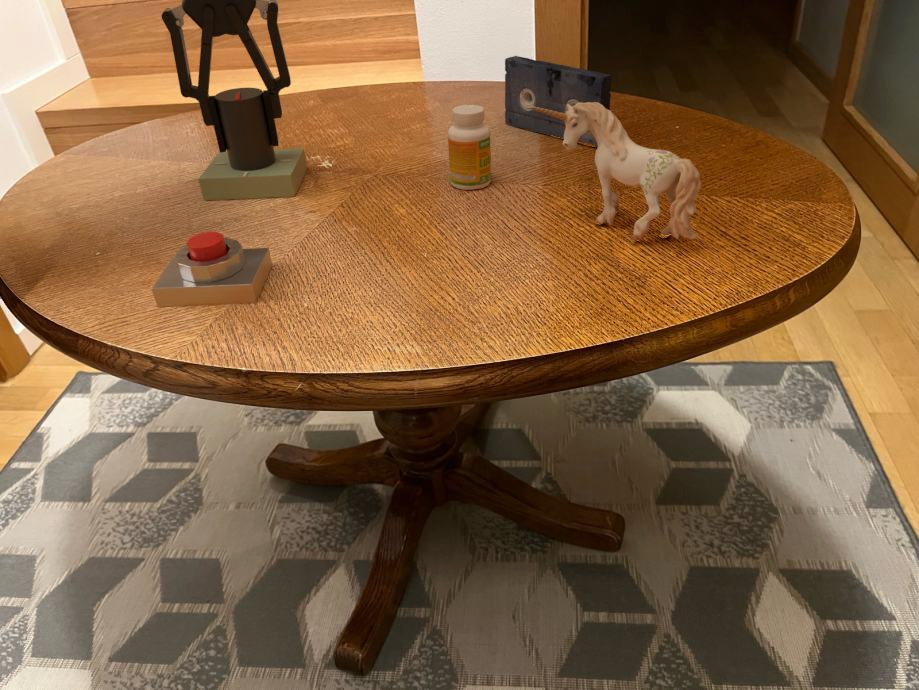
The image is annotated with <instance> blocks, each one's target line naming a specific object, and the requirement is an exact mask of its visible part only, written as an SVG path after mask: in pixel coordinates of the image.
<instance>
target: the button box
mask: <svg viewBox="0 0 919 690" xmlns="http://www.w3.org/2000/svg"><path fill="white" fill-rule="evenodd" d="M224 240H225V244H226V248H227V254H225V255H224V256H222V257H220V258H218V259H214V260H210V261H193V260H192V259H191V257H190V253H189V250H188V246H187V244H186V245H184V246H182V247H181V248H179V249H178V250H177V251H176V252H175V254H174V255H173V256H172V258H171V259H170V261H169V262H168V264H167V265H166V266H165V268H164V269H163V271H162V273H161V274H160V275H159V276H158V279H157V280H156V281H155V283H154V284H153V286H152V288H151V291H152V295H153V297H154V300H155V303H156V307H157V308H166V307H167V308H168V307H169V308H170V307H171V308H172V307H192V306H193V307H195V306H214V305H215V306H219V305H239V304H244V305H245V304H257V303H258V300H259V298H260V295H261V293H262V292H263V291H262V290H263V288H264V286H265V283H266V282H267V279H268V277H269V274H270V272H271V269H272V267H273V261H272V256H271V251H270V248H269V247H255V248H254V247H253V248H243V246H242V245H241V243H240V242H239V241H238V239H233V238H230V237H226V236H224Z"/></svg>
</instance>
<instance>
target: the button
mask: <svg viewBox="0 0 919 690" xmlns="http://www.w3.org/2000/svg"><path fill="white" fill-rule="evenodd" d="M224 237H225V236H224V235H223V234H222V233H221V232H217V231H205V232H200V233H197V234H194V235H192V236H190V237H189V238H188V239H187V241H186V245H187V246H188V250H189V253H190V257H191V259H192V260H193V261H210V260H214V259H218V258H220V257H222V256H224V255H225V254H227V248H226V244H225V240H224Z"/></svg>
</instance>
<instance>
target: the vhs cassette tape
mask: <svg viewBox="0 0 919 690" xmlns="http://www.w3.org/2000/svg"><path fill="white" fill-rule="evenodd" d="M504 71H505V73H504V108H505V111H504V123H505V125H507V124H508V125H507V126H510V125H512V126H511V127H515V126H516V127H515V128H518V127H520V128H519V129H521V128H524V129H523V130H525V129H528V130H527V131H529V130H532V131H536V132H539V133H538V134H540V133H543V134H548V135H553V136H556V137H560V138H564V132H565V129H566V125H565V121H563V120H560V119H558V118H555V117H553V116H549V115H547V114H544V113H541V112H538V111H536V110H533V109H532V108H531V107H532V106H535V107H539V108H543V109H548V110H552V111H556V112H559V113H564V114H565V113H566V112H567V111H569V110H568V107H567V104H569V105H570V106H575V105H576V104H577V103H581V102H582V103H587V102H590V103H593V102H597V103H600V104H601V105H603V106H604V107H605V108H606V109H608V110H610V111H611V109H610V108H611V98H612V97H611V96H612V94H611V91H612V83H613V74H609V73H602V72H599V71H594V70H590V69H589V70H588V69H585V68H578V67H574V66H569V65H566V64H565V65H564V64H559V63H553V62H550V61H544V60H538V59H537V60H535V59H532V58H529V57H524V56H519V55H514V56H509V57H507V58H505V59H504ZM532 131H531V132H532ZM536 132H535V133H536ZM543 134H542V135H543ZM548 135H547V136H548ZM578 142H582V143H587V144H592V145H595V146H598V145H597V141H596V139H595V137H594V136H593V134H592V133H591V132H590V131H589V130H588V131H587V132H586V133H585V134H583V135H581V137H580V138H579V139H578Z"/></svg>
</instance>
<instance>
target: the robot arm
mask: <svg viewBox="0 0 919 690" xmlns="http://www.w3.org/2000/svg"><path fill="white" fill-rule="evenodd" d="M255 9H257V10H258V11H259V15H260V17H261V18H262V19H263V20H265V21H266V24H267V25H266V26H267V31H268V35H269V39H270V44H271V47H272V52H273V56H274V59H275V64H276V68H277V72H278V76H276V77H274V74H273V73H272V71H271V69H270V66H269V65H268V63H267V61H266V59H265V57H264V55H263V53H262V51H261V49H260V47H259V45H258V43H257V41H256V39H255V37H254V36H253V32H252V30H251V29H250V27H249V25H248V24H249V21H250V19H251V17H252V15H253V13H254V10H255ZM185 15H187V16H188V18H190V19H191V20H192V22H194V23H195V25H197V26H198V27H199V28H200V30H201V37H200V38H201V39H200V54H199V66H198V80H197V85H195V84H194V85H193V82H192V76H191V71H190V64H189V59H188V53H187V47H186V42H185V36H184V31H183V26H184V24H185V22H186V21H185ZM278 17H279V3H278V1H277V0H182V1H181V4H179V5H177V6H174V7H172V8H170V7H166V8H165V9H164V10H163V12H162V13H161V20H162V21H163V23H164V26H165V27H166V29H167V31H168V33H169V35H170V41H171V47H172V52H173V57H174V62H175V63H174V64H175V69H176V74H177V78H178V85H179V90H180V94H181V96H182V97H183V98H191V99H195V100H196V101H197V102H198V104H199V108H200V113H201V116H202V120H203V124H204V125H205V126H206V127H211V126H212V127H213V129H214V132H215V138H216V141H217V146H218V152H220V153H221V152H227V150H226V145H225V141H224V136H223V132H222V128H221V123H220V119H219V115H218V110H217V106H216V102H215V95H210V94H209V93H210V92H209V90H210V81H211V80H210V79H211V68H212V55H213V43H214V38H217V37H222V36H224V35H229V36H238V37H239V39H240V41H241V42H242V44H243V46H244V48H245V49H246V52H247V54H248V55H249V58H250V59H251V61H252V63H253V65H254V67H255V69H256V71H257V73H258V74H259V77H260V78H261V80H262V82H263V85H264V86H265V90H262V91H263V99H264V104H265V109H266V114H267V119H268V125H269V130H270V135H271V140H272V145H273V147H279V136H278V131H277V126H276V120H275V119H281V118H282V115H283V110H282V105H281V98H280V91H281V90H283V89H285V88H289V87H290V86H291V85H292V84H291V83H292V81H291V74H290V70H289V66H288V62H287V58H286V54H285V50H284V46H283V41H282V37H281V33H280V32H281V31H280V28H279V24H278Z"/></svg>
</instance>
